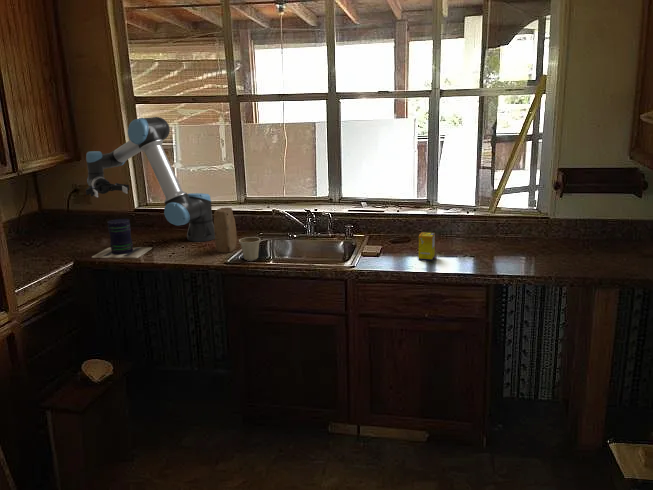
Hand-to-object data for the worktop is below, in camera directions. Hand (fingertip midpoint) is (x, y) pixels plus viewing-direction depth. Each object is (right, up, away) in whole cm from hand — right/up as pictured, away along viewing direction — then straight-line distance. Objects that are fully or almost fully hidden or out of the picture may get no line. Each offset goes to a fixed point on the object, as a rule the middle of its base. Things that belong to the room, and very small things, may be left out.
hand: (112, 192), depth 273 cm
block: (+55, -27, -2) cm, 61 cm away
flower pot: (+68, -31, -16) cm, 76 cm away
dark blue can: (+5, -28, -1) cm, 29 cm away
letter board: (+5, -29, -1) cm, 29 cm away
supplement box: (+144, -31, -25) cm, 150 cm away
